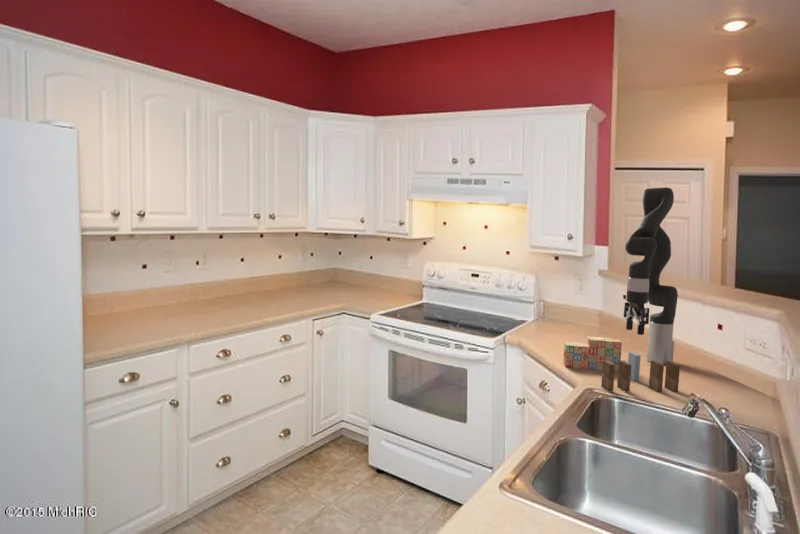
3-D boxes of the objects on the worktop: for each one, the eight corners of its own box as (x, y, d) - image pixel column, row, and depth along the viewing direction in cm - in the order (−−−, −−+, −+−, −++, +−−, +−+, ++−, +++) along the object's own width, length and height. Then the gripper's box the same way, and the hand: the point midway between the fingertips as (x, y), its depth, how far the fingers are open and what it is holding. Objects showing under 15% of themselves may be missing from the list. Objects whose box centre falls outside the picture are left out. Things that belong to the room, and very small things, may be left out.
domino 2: (631, 377, 205) (633, 352, 204) (638, 381, 200) (640, 355, 199) (627, 377, 205) (628, 352, 204) (633, 381, 200) (635, 355, 199)
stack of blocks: (564, 367, 217) (566, 337, 216) (563, 363, 223) (564, 334, 222) (619, 371, 213) (622, 341, 212) (616, 367, 219) (618, 338, 218)
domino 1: (622, 387, 193) (624, 360, 192) (629, 391, 188) (631, 364, 187) (617, 387, 193) (619, 360, 192) (623, 391, 188) (625, 364, 187)
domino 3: (654, 387, 194) (656, 360, 193) (661, 391, 189) (663, 364, 188) (648, 387, 194) (650, 360, 193) (656, 391, 189) (658, 364, 188)
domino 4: (669, 387, 194) (671, 360, 193) (677, 392, 189) (680, 364, 188) (664, 387, 194) (666, 360, 193) (672, 392, 189) (674, 364, 188)
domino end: (606, 387, 192) (608, 360, 191) (613, 391, 187) (615, 364, 186) (601, 387, 192) (603, 360, 191) (607, 391, 187) (609, 364, 186)
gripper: (657, 292, 193) (654, 336, 195) (637, 287, 207) (634, 328, 209) (637, 292, 193) (634, 336, 194) (619, 287, 207) (616, 328, 208)
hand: (634, 332), depth 201 cm, fingers open, 8 cm apart
